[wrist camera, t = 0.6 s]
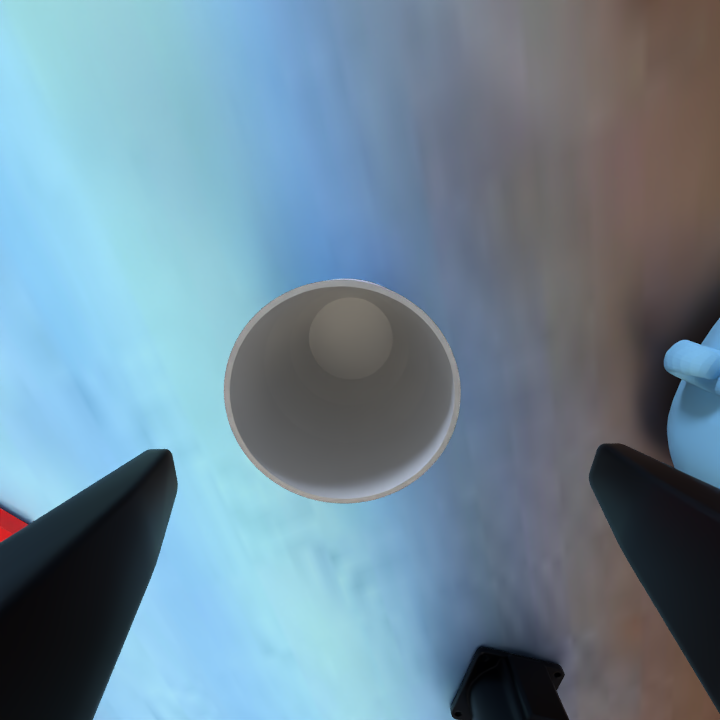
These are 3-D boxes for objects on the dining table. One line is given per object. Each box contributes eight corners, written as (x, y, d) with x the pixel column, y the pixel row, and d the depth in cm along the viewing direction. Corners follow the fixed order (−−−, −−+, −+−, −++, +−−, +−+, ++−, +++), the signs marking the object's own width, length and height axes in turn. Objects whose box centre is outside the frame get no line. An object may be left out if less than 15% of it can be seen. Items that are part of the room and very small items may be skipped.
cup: (423, 399, 25) (463, 495, 15) (289, 410, 25) (243, 511, 15) (416, 260, 23) (457, 268, 13) (270, 273, 23) (203, 291, 13)
